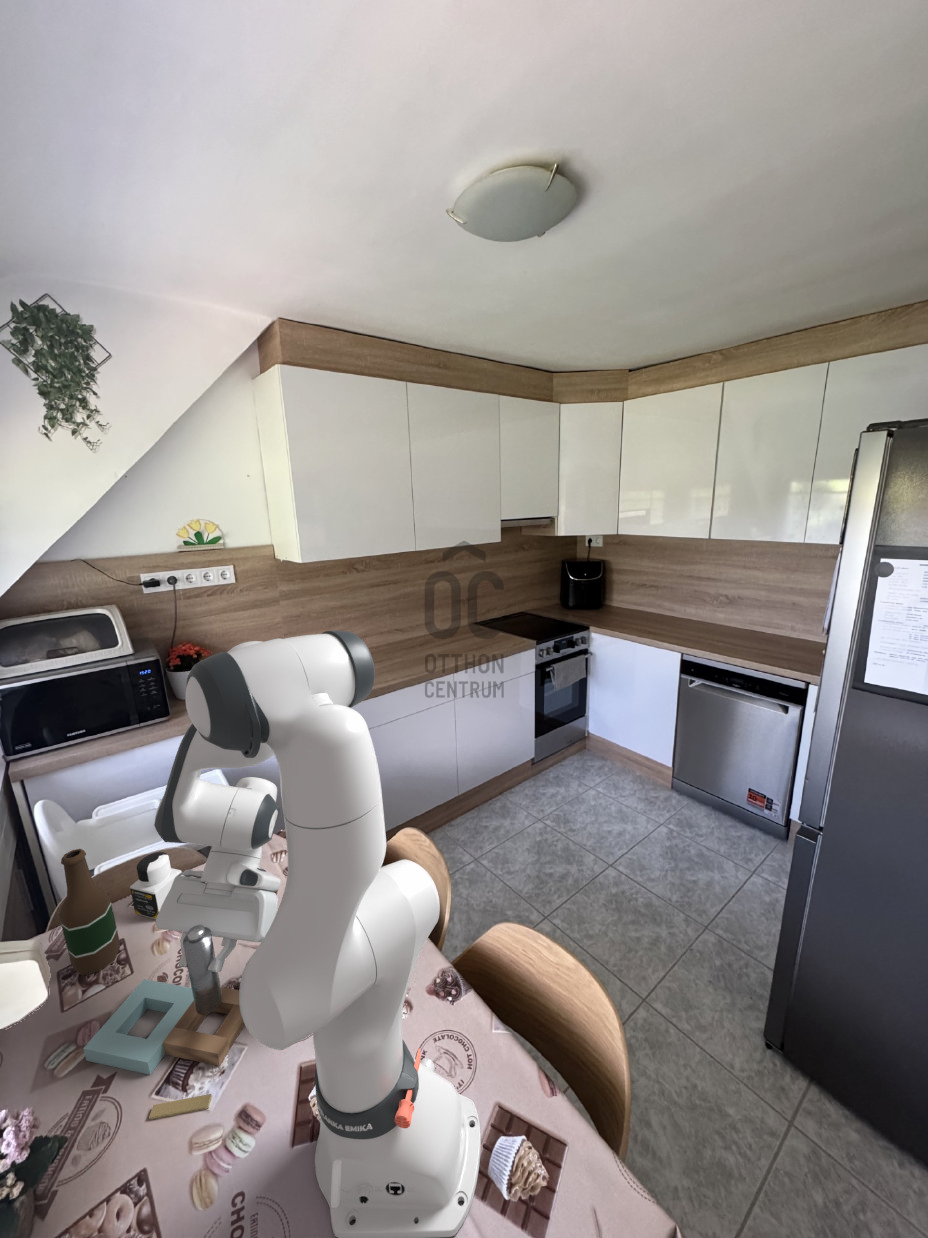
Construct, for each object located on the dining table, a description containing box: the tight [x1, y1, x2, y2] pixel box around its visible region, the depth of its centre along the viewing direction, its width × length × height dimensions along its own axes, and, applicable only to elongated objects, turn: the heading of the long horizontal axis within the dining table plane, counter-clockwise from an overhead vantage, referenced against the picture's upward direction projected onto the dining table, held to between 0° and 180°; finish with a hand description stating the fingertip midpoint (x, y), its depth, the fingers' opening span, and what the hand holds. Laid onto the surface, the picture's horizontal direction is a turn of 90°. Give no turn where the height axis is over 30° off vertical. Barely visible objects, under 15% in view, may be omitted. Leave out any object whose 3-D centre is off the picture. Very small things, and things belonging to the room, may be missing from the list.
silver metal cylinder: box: [183, 925, 222, 1015], centre depth 81 cm, size 4×4×14 cm
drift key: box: [148, 1093, 213, 1121], centre depth 73 cm, size 8×2×1 cm, turn 99°
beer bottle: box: [59, 848, 121, 977], centre depth 95 cm, size 8×8×24 cm
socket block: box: [163, 986, 245, 1067], centre depth 83 cm, size 10×10×2 cm
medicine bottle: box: [129, 851, 183, 920], centre depth 109 cm, size 7×7×12 cm
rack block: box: [83, 979, 194, 1076], centre depth 84 cm, size 12×12×2 cm
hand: (199, 969), depth 80 cm, fingers closed on silver metal cylinder, 4 cm apart
